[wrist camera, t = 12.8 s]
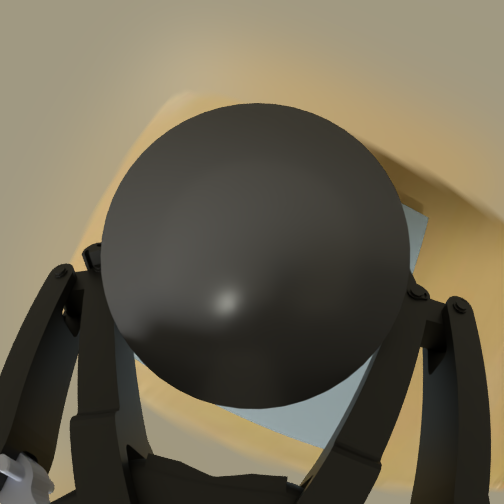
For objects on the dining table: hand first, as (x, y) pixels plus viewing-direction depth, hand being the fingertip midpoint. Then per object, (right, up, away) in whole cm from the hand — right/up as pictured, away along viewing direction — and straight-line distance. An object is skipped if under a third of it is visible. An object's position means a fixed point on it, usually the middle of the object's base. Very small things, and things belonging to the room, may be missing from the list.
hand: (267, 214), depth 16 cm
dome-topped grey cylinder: (0, -4, +3) cm, 5 cm away
